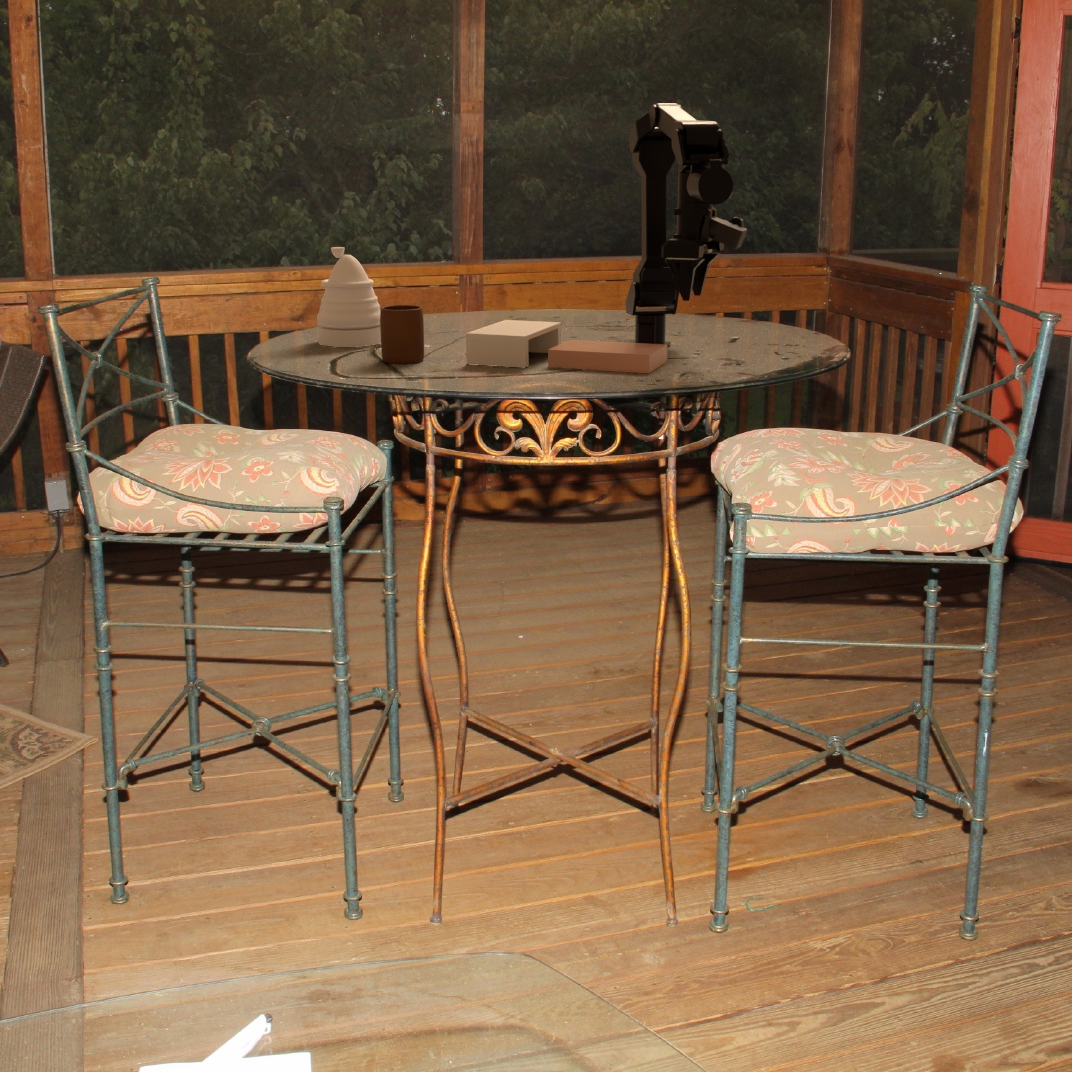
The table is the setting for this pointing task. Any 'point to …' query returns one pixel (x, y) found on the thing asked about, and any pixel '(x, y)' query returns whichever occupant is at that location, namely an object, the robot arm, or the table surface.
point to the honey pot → (348, 306)
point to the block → (608, 356)
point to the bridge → (511, 342)
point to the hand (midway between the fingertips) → (692, 298)
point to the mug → (402, 334)
